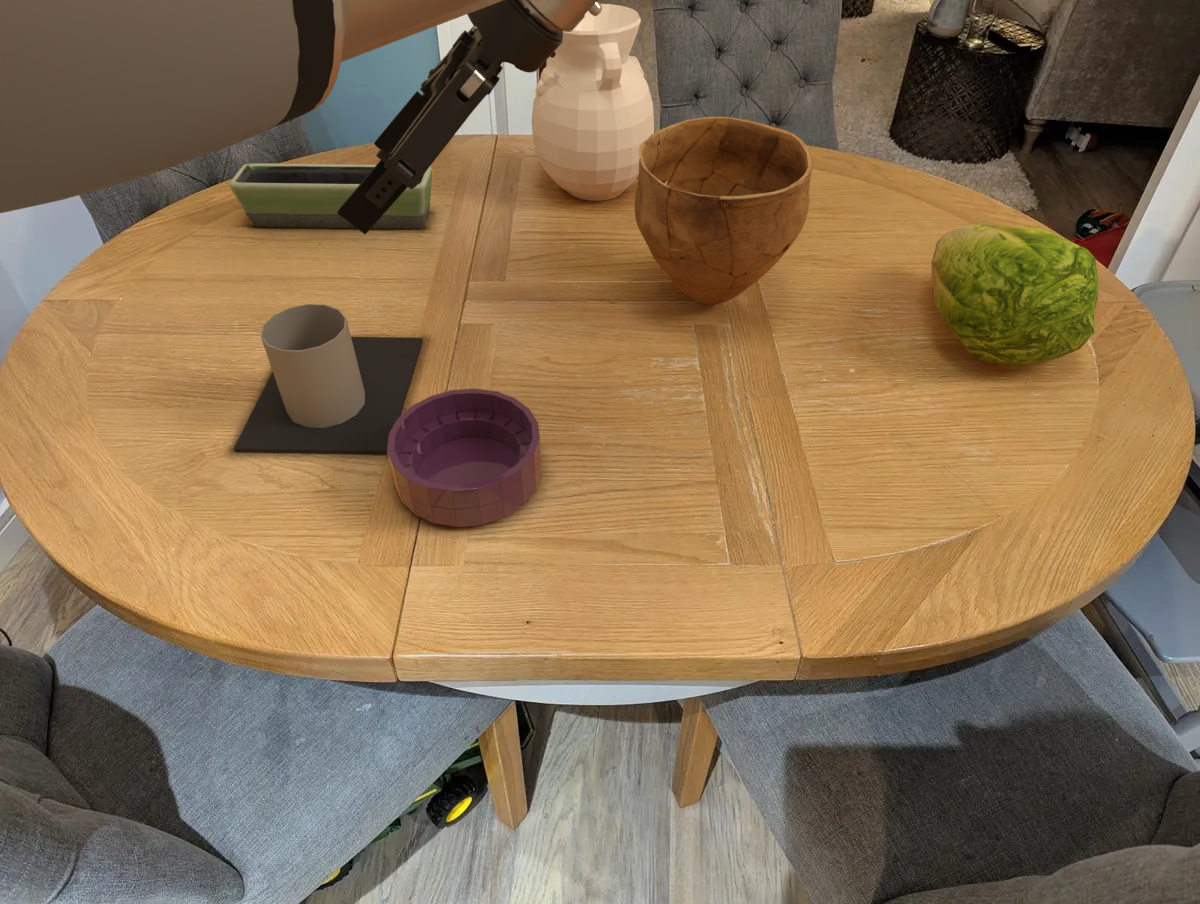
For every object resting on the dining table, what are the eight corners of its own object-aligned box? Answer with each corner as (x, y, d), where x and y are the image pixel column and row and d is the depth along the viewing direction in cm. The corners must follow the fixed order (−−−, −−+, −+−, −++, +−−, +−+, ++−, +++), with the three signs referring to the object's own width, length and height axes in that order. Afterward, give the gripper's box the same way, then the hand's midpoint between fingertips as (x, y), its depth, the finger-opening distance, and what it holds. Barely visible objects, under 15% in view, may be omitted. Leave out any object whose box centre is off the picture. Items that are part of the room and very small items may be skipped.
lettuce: (1007, 279, 111) (1023, 175, 102) (1116, 369, 91) (1148, 251, 82) (884, 303, 111) (890, 202, 102) (968, 398, 91) (984, 283, 83)
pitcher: (522, 170, 133) (512, 2, 115) (628, 157, 137) (634, -8, 119) (552, 223, 120) (545, 42, 102) (668, 206, 124) (680, 29, 107)
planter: (439, 210, 122) (432, 164, 117) (431, 233, 117) (424, 186, 112) (257, 208, 122) (243, 162, 117) (242, 231, 117) (226, 184, 112)
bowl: (804, 346, 98) (839, 189, 84) (637, 350, 97) (645, 192, 83) (769, 258, 113) (794, 113, 99) (625, 261, 112) (629, 115, 98)
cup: (377, 408, 88) (359, 332, 81) (304, 438, 84) (278, 361, 77) (346, 370, 93) (326, 295, 86) (276, 396, 89) (249, 320, 82)
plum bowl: (453, 555, 74) (445, 514, 70) (369, 473, 81) (358, 433, 77) (570, 479, 81) (569, 438, 77) (483, 410, 88) (478, 370, 85)
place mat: (389, 454, 83) (388, 450, 83) (234, 452, 83) (233, 448, 83) (422, 341, 98) (422, 337, 98) (291, 339, 98) (290, 335, 98)
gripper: (559, 94, 53) (375, 287, 64) (574, -8, 72) (428, 155, 82) (471, 4, 50) (291, 224, 60) (510, -80, 68) (366, 101, 78)
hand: (370, 185), depth 71 cm, fingers open, 13 cm apart
